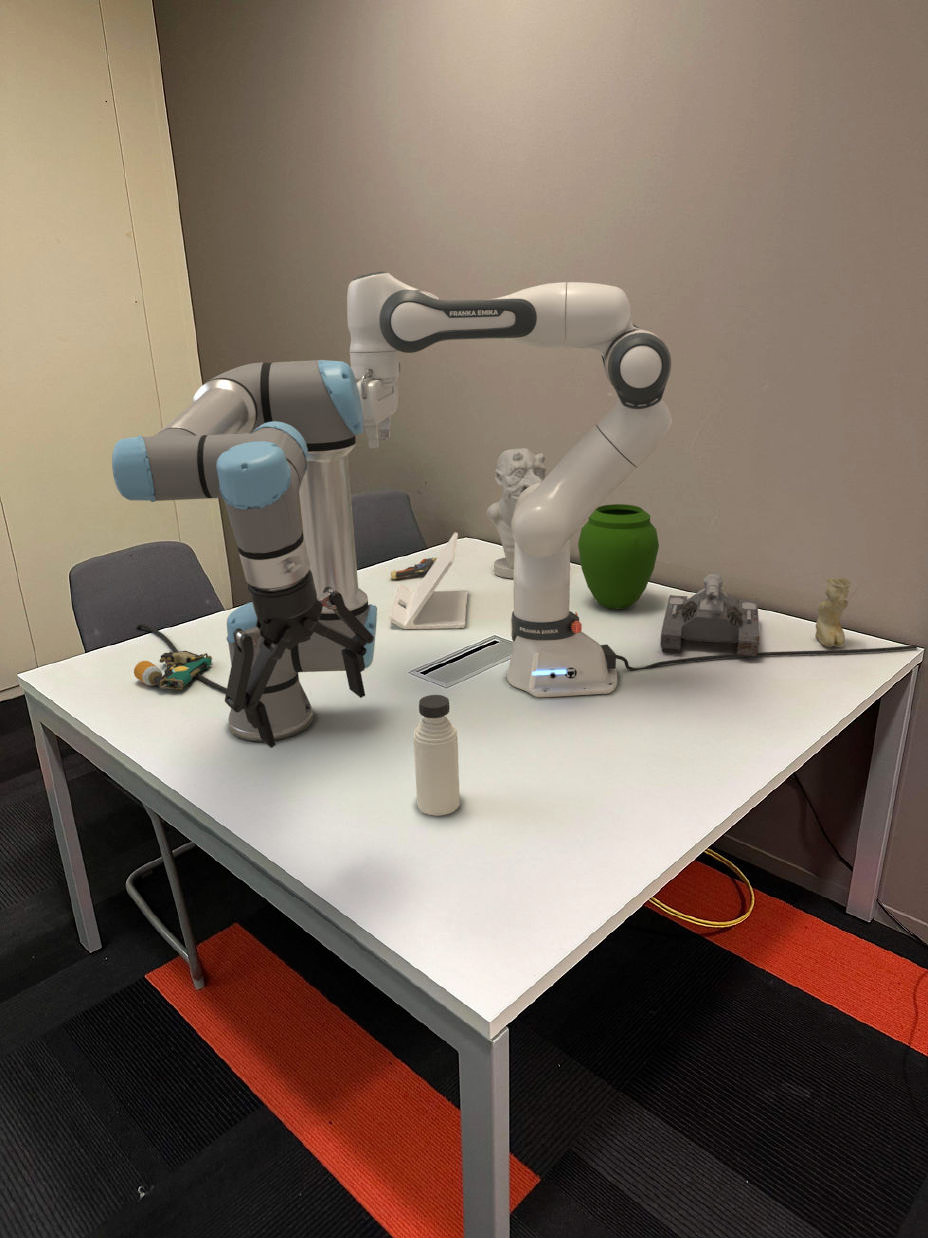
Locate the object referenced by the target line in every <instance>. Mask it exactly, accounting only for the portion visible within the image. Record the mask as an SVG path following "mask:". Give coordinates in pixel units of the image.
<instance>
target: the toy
mask: <svg viewBox="0 0 928 1238" xmlns="http://www.w3.org/2000/svg"><path fill="white" fill-rule="evenodd" d="M723 584H724V580H723V577H722V576H721V575H720V574H718V573H709V574H708V575H707V576H705V577H704V579H703V586H704V588H702V589H700V590H698V591H697V592H696V593H695V594H693V595H692V596H691V597H688V596H687V595H674V594H670V595H669V596H668V600H667V604H666V609H665V613H664V618H663V622H662V625H661V633H660V648H661V651H664V652H674V653H680V652H681V645H682V639H684V640H687V641H693V642H695V641H696V642H707V643H718V644H736V654H737V655H738V656H747V658H748V657H749V658H756V657H758V656H757V653H759V647H760V622H759V620H760V619H759V605H758V604H759V602H758V601H757V600H749V599H747V600H745V599H738V601H737V600H735V598H734V597H732V596H731V595H730V594H729V593H728V592H726V591H724V590H723V589H722V588H723Z"/></svg>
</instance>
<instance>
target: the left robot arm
mask: <svg viewBox="0 0 928 1238" xmlns="http://www.w3.org/2000/svg"><path fill="white" fill-rule="evenodd" d="M364 430H365V426H364V421H363V415H362V406H361V401H360V396H359V391H358V387H357V379H355V376H354V373H353V371H352V369H351V365H349V364H348V363H347V362H345V361H342V360H326V359H313V360H295V361H292V360H291V361H276V362H265V361H263V362H262V361H261V362H254V363H248V364H244V365H240V366H237V367H235V368H232V369H229V370H226V371H225V372H223V373H220V374H218V375H216V376H214V377H213V378H211V379H209V380H208V381H206V382H205V383H204V384H202V385H201V386H200V387H199V388H198V390H196V392H195V394H194V396H193V399H192V403H191V404H190V405H188V406H187V407H186V408H185V409H183V411H181V413H179V414H178V415H177V416H176V417H174V418H173V419H171V421H170V422H169V423H167V424H166V425H165V426H163V428H161V429H160V430H159V431H158V432H156V433H155V434H154V435H152V436H143V435H138V436H135V437H125V438H121V439H119V440H118V441H117V442H116V443H115V445H114V447H113V449H112V455H111V456H112V457H111V469H112V475H113V476H112V477H113V479H114V484H115V486H116V488H117V490H118V492H119V493H120V495H121V497H123V498H125V499H126V500H128V501H143V502H144V501H145V502H147V501H150V502H152V503H155V502H163V501H165V502H166V501H186V500H187V501H188V500H204V499H205V500H207V499H209V500H210V499H223V501H224V505H225V508H226V513H227V515H228V519H229V523H230V527H231V529H232V532H233V537H234V540H235V543H236V547H237V551H238V556H239V559H240V562H241V567H242V570H243V575H244V579H245V581H246V583H247V584H248V585H247V589H248V593H249V596H250V599H251V601H250V602H247V603H245V604H243V605H240V606H239V607H237V608H235V609H234V610H232V611H231V612H230V613H229V615H228V616H227V619H226V633H227V634H226V635H227V637H226V641H227V644H228V650H229V658H230V665H231V666H230V671H229V676H228V681H227V685H226V686H227V687H224V686H222V685H220V684H219V683H216V682H215V681H212V680H210V679H208V678H207V677H205V676H204V675H202V674H201V673H200V672H199V673H197V674H196V676H195V677H196V678H197V679H199V680H200V681H202V682H204V683H206V684H207V685H209V686H211V687H213V688H215V689H217V690H219V691H221V692H223V693H225V697H224V703H225V704H226V705H227V706H228V707H229V708H230V712H229V715H228V725H229V730H230V733H231V734H232V735H233V736H234V737H237V738H239V739H241V740H245V741H249V742H264V743H265V744H266V746H268V747H269V748H270V749H272V748H274V747H275V746H277V744H276V741H279V740H283V739H287V738H290V737H293V736H295V735H297V734H300V733H302V732H303V731H305V730H306V729H307V728H308V727H309V726H310V725H311V724H312V723H313V719H314V715H313V707H312V703H311V702H310V700H309V697H308V696H307V694H306V692H305V690H304V687H303V686H302V683H301V681H300V676H299V673H317V672H319V673H320V672H321V673H322V672H345V674H346V679H347V684H348V688H349V690H350V691H351V692H352V693H354V694H355V695H356V696H357V697H359V698H360V699H362V698H364V697H366V692H365V687H364V681H363V677H362V672H363V671H366V669H368V668H370V667H371V665H372V663H373V662H374V656H375V655H374V654H375V645H376V633H377V621H378V606H376V605H375V604H372V603H370V604H369V597H368V594H367V593H366V592H365V591H363V590H362V589H361V588H360V587H359V579H358V578H359V577H358V566H357V554H356V543H355V542H356V540H355V530H354V517H353V503H352V494H351V493H352V491H351V481H350V469H349V468H350V467H349V454H350V453H351V451H353V449H354V448H355V447H356V445H357V440H356V436H359V435H361V434H363V433H364ZM298 497H299V503H300V513H301V518H300V514H299V508H298ZM301 523H302V524H301ZM141 628H143V629H146V630H148V631H150V632H151V633H154V634H156V635H157V636H158V637H160V638H161V640H163V641H164V642H165V643H166V644H167V645H168V646H169V647H170V648H171V651H172V652H179V650H178V649H177V647H176V646H175V644H174V643H173V642H172V640H170V639H169V638H168V637H167V636H166V635H165V634H164V633H162V632H161V631H159V630H158V629H155V628H154V627H153V626H150V625H148V624H145V623H139V624H138V625H137V626H136V627H135V629H136V630H140V629H141ZM310 694H312V692H311V690H310Z"/></svg>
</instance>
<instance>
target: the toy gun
mask: <svg viewBox="0 0 928 1238" xmlns="http://www.w3.org/2000/svg"><path fill="white" fill-rule="evenodd" d="M437 558H438V557H431V558H430V557H428V558H422V559H421V561H420V562H419V563H416V564H415V563H414V565H413V566H408V567H406V568H405V569H402V570H395V569H394V570H392V571H391V572H390V577H391V579H392V580H396V579H400V578H405V577H409V576H413V575H416V574H422V573H426V571H427V570H429V569H430V568H431V566H432V565H433V564H434V562H435V561H436V559H437Z"/></svg>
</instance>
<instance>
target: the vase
mask: <svg viewBox="0 0 928 1238" xmlns="http://www.w3.org/2000/svg"><path fill="white" fill-rule="evenodd" d="M659 543H660V542H659V537H658V531H657V528H656V527H655V526H654V524H653V523H652V522H651V515H650V514H649V512H647V511H645V510H644V509H643V508H642V507H641V506H638V505H633V504H622V503H621V504H619V503H616V504H615V503H614V504H604V505H601V506H600V505H599V506H598V507H597V509H596V510H595V511H594V512H593V513H592V514H591V516H590V517H589V518H588V521H587V522H585V523H584V524H583V525H582V526H581V529H580V534H579V538H578V541H577V546H578V554H579V562H580V569H581V571H582V574H583V577H584V580H585V583H586V585H587V588H588V590H589V591H590V594H592V597H593V598H594V600H595V601H596V602H597V603H598V604H599V605H600V606H602V607H604V608H606V609H609V610H625V609H628V608H630V607H632V606H634V604H636V602H638V601H639V599H640V597H641V596H642V595H643V593H644V592H645V590H646V588H647V586H648V584H649V581H650V579H651V577H652V574H653V572H654V570H655V566H656V562H657V557H658V552H659V548H660V544H659Z"/></svg>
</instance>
